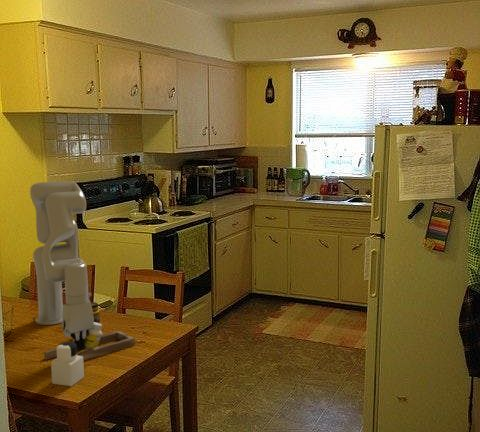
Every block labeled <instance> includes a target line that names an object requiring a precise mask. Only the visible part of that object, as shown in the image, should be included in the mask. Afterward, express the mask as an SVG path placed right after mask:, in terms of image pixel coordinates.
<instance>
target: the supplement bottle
mask: <svg viewBox="0 0 480 432" xmlns="http://www.w3.org/2000/svg"><path fill="white" fill-rule="evenodd" d="M102 327H103V324H102V323H101V322H100V323H97V322H94V326H93V327H92V329H90V330H89V332H88V334H87V335H86V338H85V339H84V343H85V346H84V350H83V352H84V351H88V350H91V349H92V348H95V347H99V345H100V344H99V341H100V338H101V334H102V333H103V332H102Z"/></svg>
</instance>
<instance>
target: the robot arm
mask: <svg viewBox="0 0 480 432" xmlns="http://www.w3.org/2000/svg"><path fill="white" fill-rule="evenodd" d="M29 189H30V190H29V193H30V198H31V202H32V203H33V206H34V208H35V215H36V216H35V218H36V220H35V222H36V223H35V224H36V226H35V227H36V237H37V241H38V242H39V243H41V244H44V245H42V246H39V247H36V248H35V249H34V251H33V253H32V258H33V264H34V268H35V273H36V281H37V282H36V285H37V303H38V304H37V305H38V316H37V317H35V319H34V321H35V323H36V324H37V325H41V326H52V325H58V324H61V330H62V331H63V337H64V338H72V339H73V340H74V343H75V344H76V345H77V350H78V351H77V352H81V351H84V346H85V343H84V339H85V338H86V335H87V334H88V332H89V330H90V329H92V327H93V326H94V318H93V310H92V306H91V300H90V298H91V297H92V296H93V295H92V293H91V292H89V283H88V282H89V281H88V267H87V263H86V262H85V261H84V259H82V258H79V229H78V225H77V222H76V221H75V220H74V218H73V215H77V214H83V213H85V212H86V210H87V200H86V196H85V194H84V192H83V191H82V189H81V188H80V186H79V185H78V184H77V182H75V181H71V180H69V181H66V180H65V181H64V180H63V181H44V182H37V183H34V184H32V185H31V187H30V188H29ZM62 282H64V289H65V290H64V291H65V303H63V302H64V301H63V285H62V284H63V283H62ZM78 332H79V334H78Z"/></svg>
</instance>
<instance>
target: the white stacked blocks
mask: <svg viewBox="0 0 480 432" xmlns="http://www.w3.org/2000/svg"><path fill="white" fill-rule="evenodd" d="M56 349H57V357H56V358H55V359H54V360H52V361H51V363H50V369H51V383H52V384H54V385H60V386H66V387H73V386H74V385H75V384H77V383H78V382H80V380H82V379H84V377H85V369H84V366H85V365H84V361H83V356H77V354H78V351H77V345H76V344H75V343H73V341H65V342H62V343H60V344H58V345H57V346H56Z"/></svg>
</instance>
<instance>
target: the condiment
mask: <svg viewBox="0 0 480 432" xmlns="http://www.w3.org/2000/svg"><path fill="white" fill-rule="evenodd" d="M90 302H91V301H90ZM91 306H92V310H93V318H94V322H97V323H100V324H101V318H100V317H101V316H100V315H101V314H100V309H99V304H98V302H95V301H94V302H93V301H92V302H91ZM78 334H79V332H78ZM101 335H104V333H103V332H102V334H101Z"/></svg>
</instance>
